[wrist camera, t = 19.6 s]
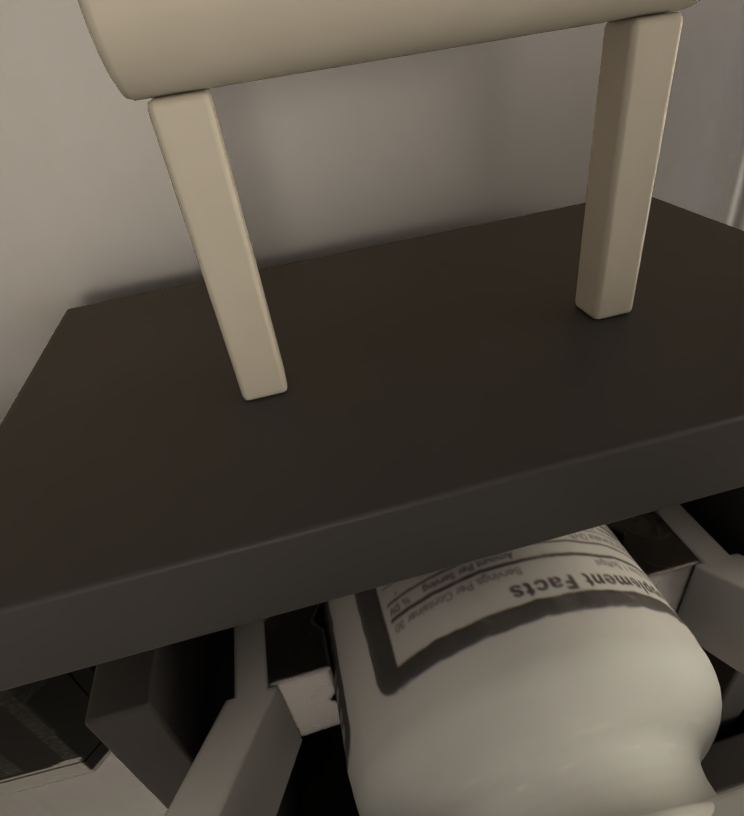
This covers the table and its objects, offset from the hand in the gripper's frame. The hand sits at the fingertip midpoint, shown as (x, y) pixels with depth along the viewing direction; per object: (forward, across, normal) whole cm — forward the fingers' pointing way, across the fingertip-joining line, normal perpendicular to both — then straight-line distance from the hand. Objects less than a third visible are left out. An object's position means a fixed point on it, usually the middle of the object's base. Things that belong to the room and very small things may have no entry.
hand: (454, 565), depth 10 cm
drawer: (+5, 0, 0) cm, 5 cm away
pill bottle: (+4, 0, 0) cm, 4 cm away
